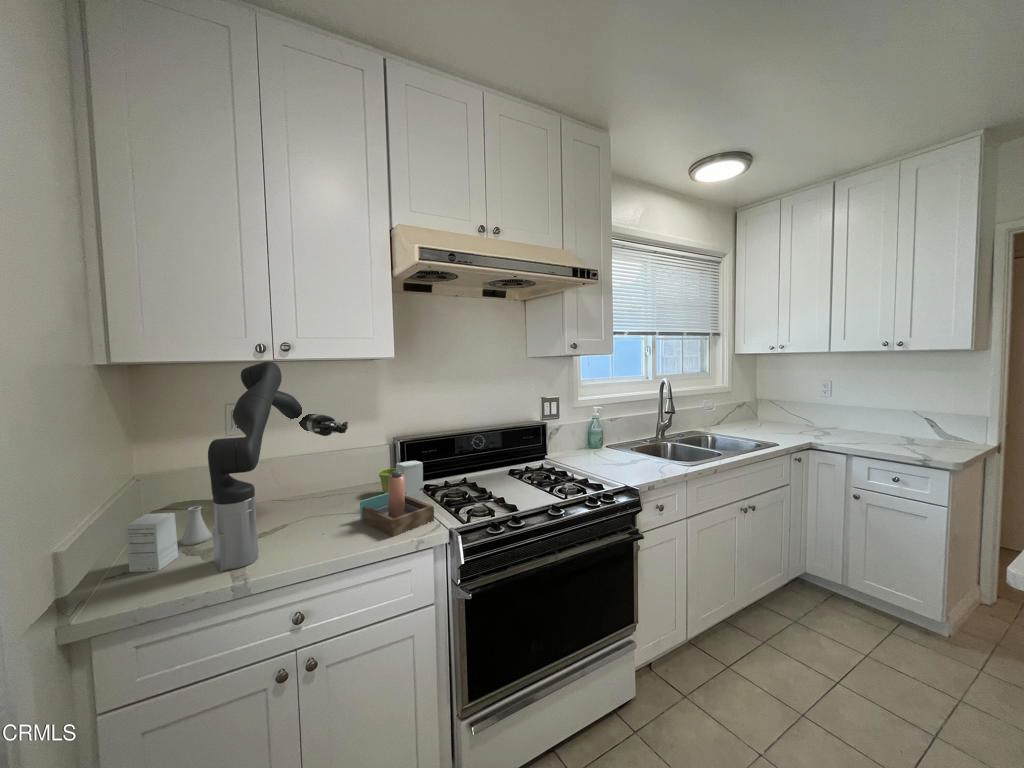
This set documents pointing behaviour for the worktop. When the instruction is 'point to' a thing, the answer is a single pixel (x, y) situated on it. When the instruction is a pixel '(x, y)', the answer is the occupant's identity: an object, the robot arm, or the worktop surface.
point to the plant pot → (385, 478)
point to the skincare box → (412, 478)
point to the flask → (195, 528)
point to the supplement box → (151, 542)
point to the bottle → (396, 494)
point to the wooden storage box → (400, 518)
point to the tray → (382, 505)
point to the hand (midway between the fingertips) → (343, 430)
